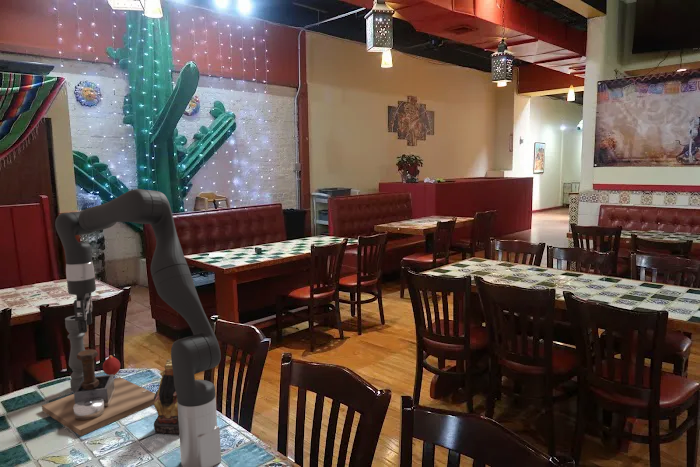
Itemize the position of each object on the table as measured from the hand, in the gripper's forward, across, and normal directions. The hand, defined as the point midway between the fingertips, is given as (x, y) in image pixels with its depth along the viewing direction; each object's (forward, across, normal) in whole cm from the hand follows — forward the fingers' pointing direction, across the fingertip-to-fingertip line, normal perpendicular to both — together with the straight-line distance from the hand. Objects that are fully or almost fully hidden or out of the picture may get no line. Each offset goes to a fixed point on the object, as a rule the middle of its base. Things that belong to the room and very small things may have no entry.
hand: (85, 328), depth 149 cm
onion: (+26, +24, -3) cm, 35 cm away
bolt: (+23, +1, 0) cm, 23 cm away
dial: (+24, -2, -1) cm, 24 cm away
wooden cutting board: (+26, 0, -3) cm, 26 cm away
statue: (+26, -23, -25) cm, 43 cm away
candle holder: (+26, +18, +6) cm, 32 cm away
